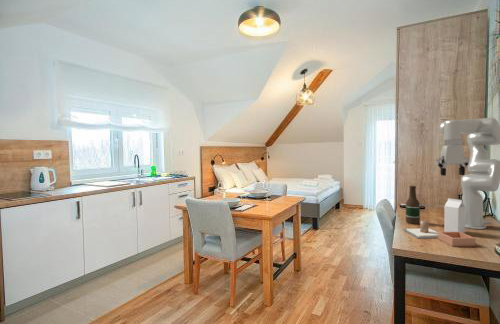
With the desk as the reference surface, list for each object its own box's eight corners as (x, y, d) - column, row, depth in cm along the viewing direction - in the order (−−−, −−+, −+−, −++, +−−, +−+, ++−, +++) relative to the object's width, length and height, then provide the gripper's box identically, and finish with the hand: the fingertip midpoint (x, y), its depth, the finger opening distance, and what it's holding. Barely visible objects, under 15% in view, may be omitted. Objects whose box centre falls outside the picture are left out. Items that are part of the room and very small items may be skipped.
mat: (430, 229, 164) (430, 228, 164) (448, 238, 148) (448, 237, 148) (402, 230, 164) (402, 229, 164) (417, 238, 148) (417, 237, 148)
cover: (429, 229, 162) (429, 218, 162) (443, 236, 149) (443, 224, 149) (406, 230, 163) (406, 218, 162) (419, 237, 150) (419, 224, 149)
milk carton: (458, 235, 152) (458, 200, 152) (444, 231, 159) (444, 198, 158) (465, 232, 156) (465, 199, 155) (451, 229, 162) (451, 197, 161)
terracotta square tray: (459, 239, 146) (459, 231, 146) (475, 246, 135) (475, 238, 135) (437, 239, 146) (437, 231, 146) (452, 246, 135) (452, 238, 135)
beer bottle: (419, 225, 173) (419, 187, 172) (405, 223, 177) (405, 186, 176) (419, 222, 180) (419, 185, 179) (406, 220, 184) (406, 184, 183)
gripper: (464, 143, 152) (463, 174, 152) (431, 143, 152) (431, 175, 153) (474, 142, 144) (474, 175, 145) (440, 143, 145) (440, 176, 146)
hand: (452, 175), depth 149 cm, fingers open, 9 cm apart
